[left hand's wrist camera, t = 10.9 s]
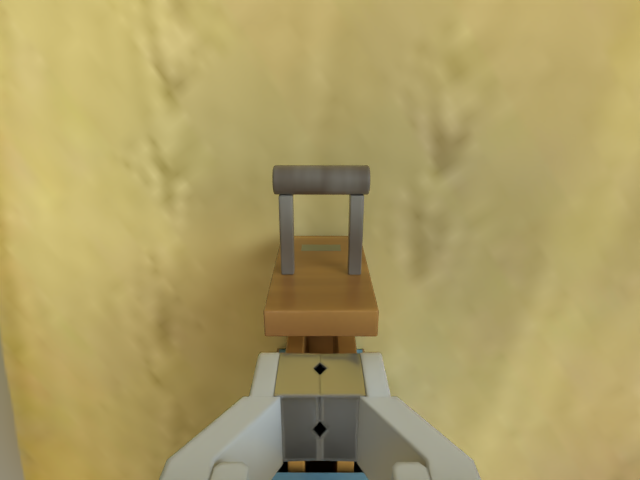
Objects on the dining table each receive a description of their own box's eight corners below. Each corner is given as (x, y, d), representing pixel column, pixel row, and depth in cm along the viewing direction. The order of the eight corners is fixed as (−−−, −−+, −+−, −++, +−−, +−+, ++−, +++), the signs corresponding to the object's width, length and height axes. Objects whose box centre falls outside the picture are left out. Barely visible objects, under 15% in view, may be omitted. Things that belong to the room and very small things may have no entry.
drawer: (278, 147, 23) (256, 185, 15) (363, 148, 23) (386, 185, 15) (289, 466, 31) (278, 600, 23) (351, 466, 31) (362, 600, 23)
